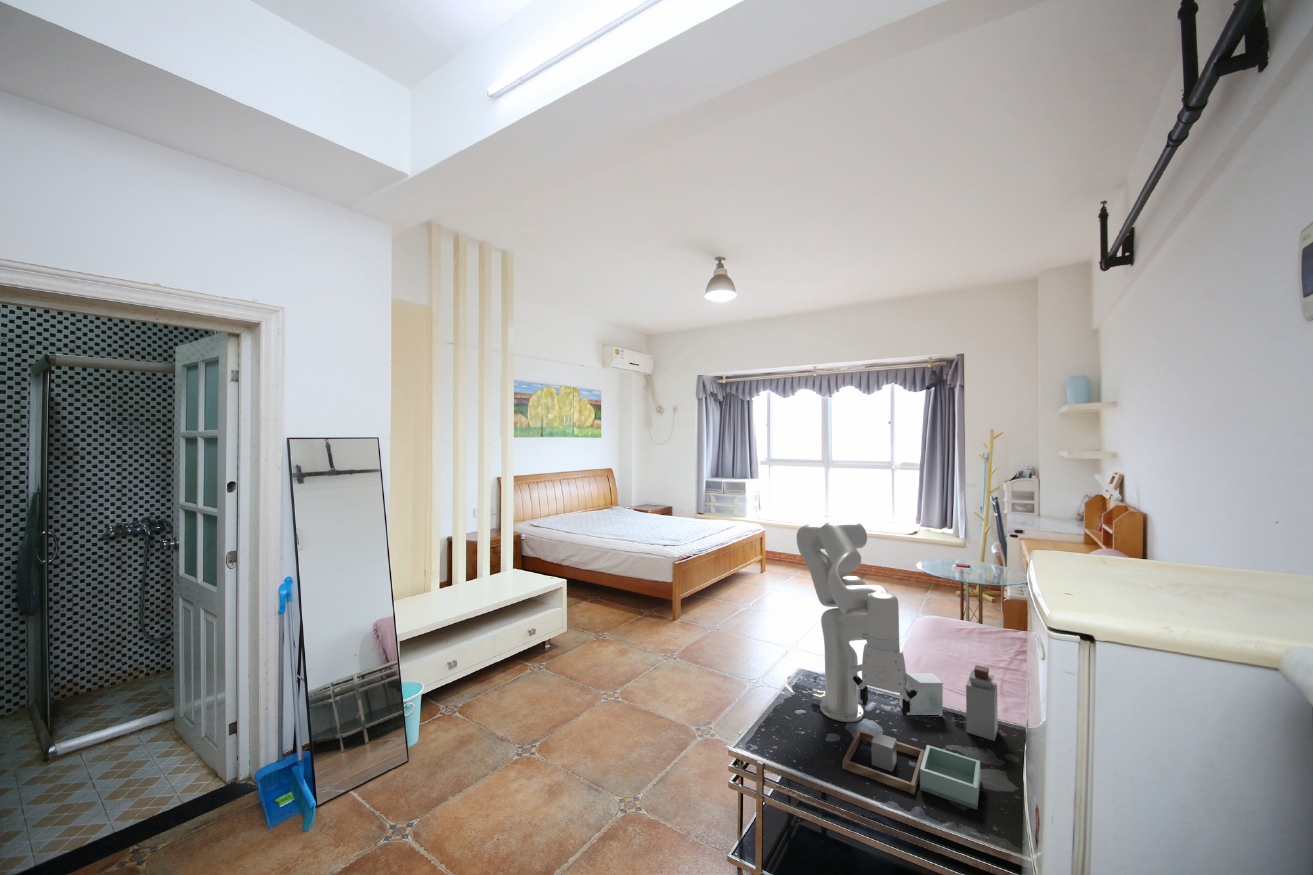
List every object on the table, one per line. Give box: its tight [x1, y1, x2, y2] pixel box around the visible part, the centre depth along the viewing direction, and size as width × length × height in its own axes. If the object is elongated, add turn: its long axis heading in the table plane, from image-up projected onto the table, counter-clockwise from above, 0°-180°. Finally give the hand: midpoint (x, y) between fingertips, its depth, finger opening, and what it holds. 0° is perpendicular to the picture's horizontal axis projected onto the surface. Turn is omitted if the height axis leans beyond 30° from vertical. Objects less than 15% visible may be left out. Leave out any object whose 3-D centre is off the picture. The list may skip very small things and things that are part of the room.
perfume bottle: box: [965, 664, 999, 742], centre depth 145 cm, size 7×7×18 cm
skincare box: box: [899, 672, 944, 717], centre depth 156 cm, size 10×6×10 cm, turn 88°
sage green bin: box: [919, 744, 981, 811], centre depth 123 cm, size 12×12×5 cm
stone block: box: [871, 732, 897, 773], centre depth 132 cm, size 5×5×6 cm
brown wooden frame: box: [841, 729, 926, 795], centre depth 132 cm, size 17×17×2 cm
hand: (884, 708), depth 131 cm, fingers open, 9 cm apart
